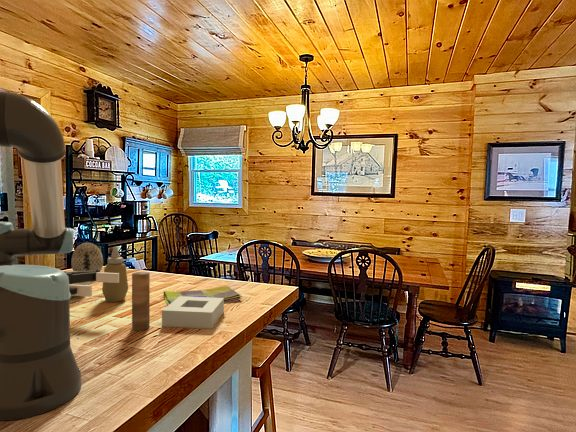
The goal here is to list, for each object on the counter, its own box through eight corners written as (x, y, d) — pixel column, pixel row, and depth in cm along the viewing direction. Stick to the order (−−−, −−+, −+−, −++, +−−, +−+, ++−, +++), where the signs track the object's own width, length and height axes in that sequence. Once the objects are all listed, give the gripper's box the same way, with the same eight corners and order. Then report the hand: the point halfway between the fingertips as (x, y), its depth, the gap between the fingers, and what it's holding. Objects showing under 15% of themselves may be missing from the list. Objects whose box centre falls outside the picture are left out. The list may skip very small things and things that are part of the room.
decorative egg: (71, 282, 147) (70, 245, 146) (71, 276, 157) (71, 241, 156) (103, 279, 152) (103, 243, 151) (102, 274, 163) (102, 240, 162)
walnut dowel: (145, 331, 98) (145, 275, 97) (129, 330, 98) (128, 275, 97) (152, 325, 102) (152, 272, 101) (136, 325, 103) (136, 271, 102)
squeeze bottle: (118, 304, 120) (118, 249, 119) (96, 302, 122) (96, 248, 121) (133, 297, 128) (133, 246, 127) (112, 295, 130) (112, 245, 129)
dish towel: (162, 296, 132) (162, 289, 132) (228, 290, 143) (228, 283, 143) (169, 311, 117) (169, 302, 116) (243, 303, 127) (243, 295, 127)
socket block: (211, 328, 101) (212, 312, 101) (161, 326, 102) (161, 310, 102) (223, 312, 115) (223, 298, 115) (179, 310, 116) (179, 296, 116)
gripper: (61, 282, 114) (128, 285, 113) (-8, 308, 89) (77, 312, 88) (60, 258, 114) (128, 261, 112) (-9, 277, 89) (76, 282, 88)
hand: (105, 284), depth 100 cm, fingers open, 13 cm apart
